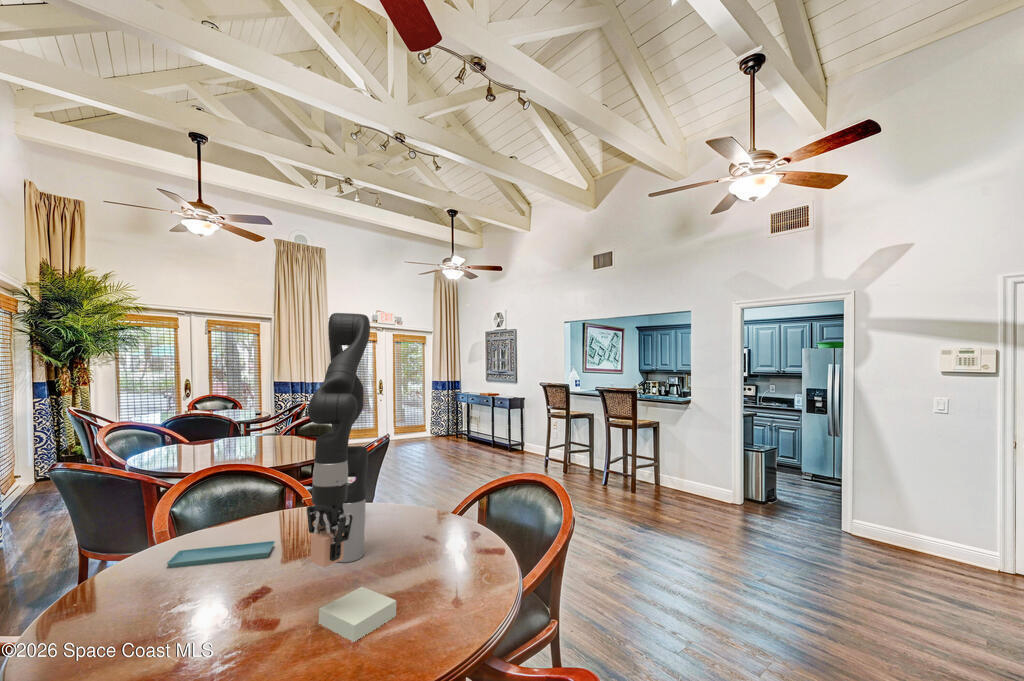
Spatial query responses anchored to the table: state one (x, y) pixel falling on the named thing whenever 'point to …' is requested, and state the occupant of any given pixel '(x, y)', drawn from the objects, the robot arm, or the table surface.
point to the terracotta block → (323, 549)
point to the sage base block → (357, 613)
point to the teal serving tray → (221, 554)
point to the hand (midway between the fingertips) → (327, 556)
